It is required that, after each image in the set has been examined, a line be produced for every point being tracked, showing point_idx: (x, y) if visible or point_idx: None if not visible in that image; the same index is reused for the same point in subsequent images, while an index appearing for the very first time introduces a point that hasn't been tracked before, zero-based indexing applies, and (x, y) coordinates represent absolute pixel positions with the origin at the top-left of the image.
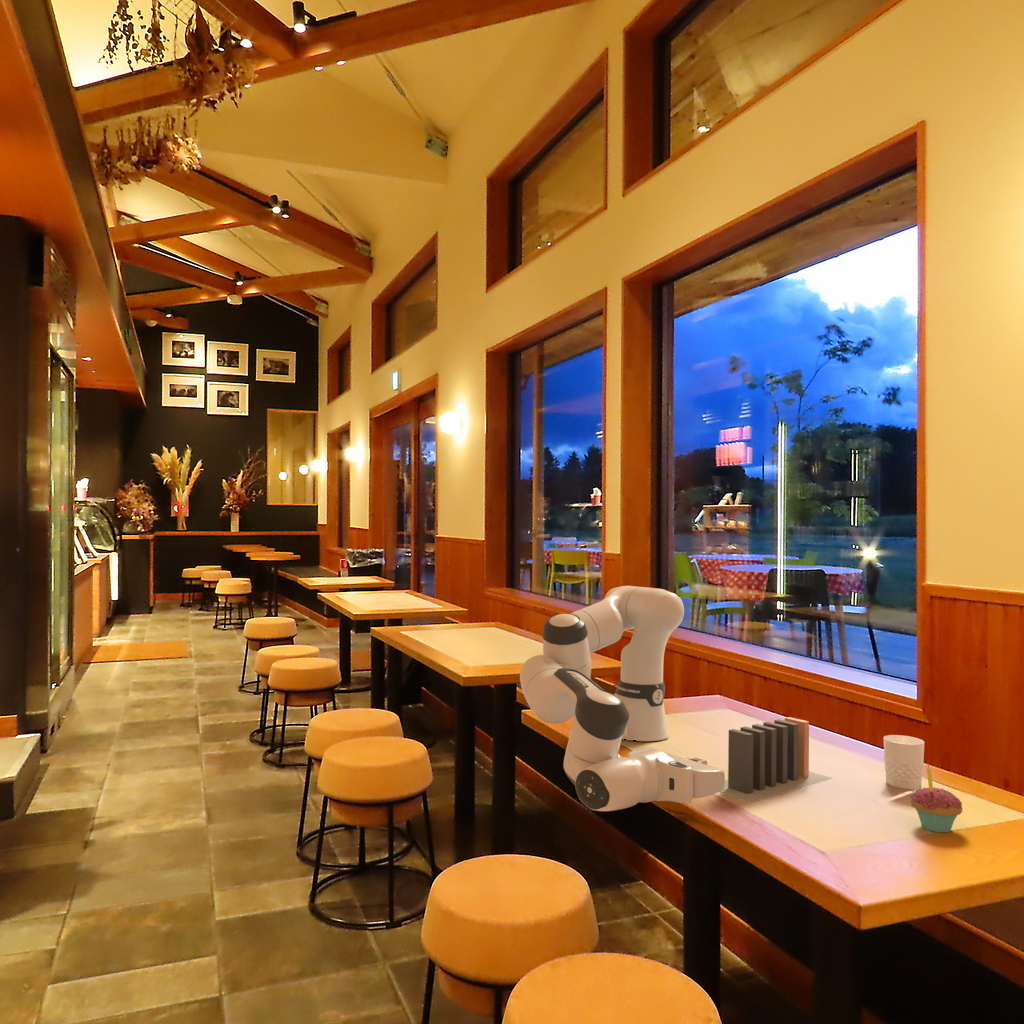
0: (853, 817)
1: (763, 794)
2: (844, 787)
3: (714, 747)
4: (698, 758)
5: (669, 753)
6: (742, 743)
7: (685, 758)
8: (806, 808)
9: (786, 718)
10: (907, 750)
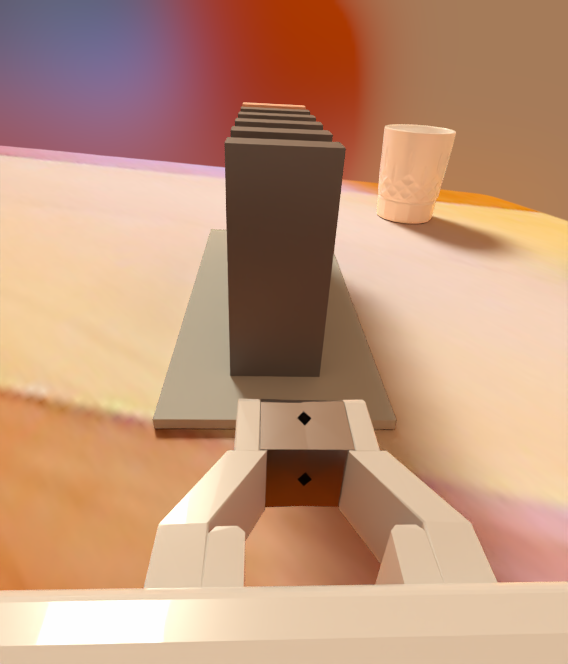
0: (559, 326)
1: (344, 351)
2: (367, 246)
3: (9, 228)
4: (287, 406)
5: (4, 602)
6: (307, 196)
7: (363, 605)
8: (470, 347)
9: (248, 104)
10: (447, 146)
